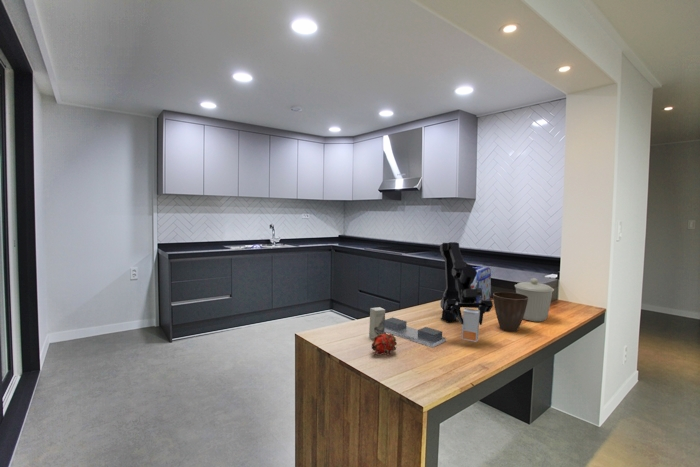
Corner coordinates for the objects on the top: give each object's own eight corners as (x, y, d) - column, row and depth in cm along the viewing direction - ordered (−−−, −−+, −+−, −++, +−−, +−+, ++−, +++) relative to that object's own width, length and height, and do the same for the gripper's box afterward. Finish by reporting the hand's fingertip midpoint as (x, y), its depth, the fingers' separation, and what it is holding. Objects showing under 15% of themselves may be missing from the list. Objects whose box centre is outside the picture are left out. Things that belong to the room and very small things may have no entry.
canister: (543, 326, 171) (546, 283, 170) (506, 317, 185) (508, 277, 184) (557, 319, 183) (560, 279, 182) (521, 311, 197) (523, 273, 196)
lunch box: (479, 308, 201) (481, 269, 200) (461, 305, 207) (463, 267, 206) (492, 299, 224) (493, 264, 222) (475, 296, 230) (476, 262, 228)
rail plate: (393, 325, 168) (394, 316, 168) (445, 341, 149) (446, 330, 149) (380, 330, 161) (380, 320, 161) (432, 347, 142) (433, 336, 142)
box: (374, 341, 147) (374, 310, 147) (368, 337, 151) (369, 307, 150) (384, 339, 150) (385, 309, 149) (379, 336, 154) (380, 306, 153)
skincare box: (461, 339, 145) (462, 310, 144) (463, 336, 148) (464, 307, 147) (477, 342, 142) (478, 312, 141) (478, 339, 145) (480, 310, 145)
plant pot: (484, 326, 170) (486, 293, 169) (505, 322, 177) (506, 290, 176) (512, 336, 157) (514, 300, 156) (533, 331, 164) (535, 297, 163)
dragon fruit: (397, 354, 139) (374, 366, 131) (383, 336, 143) (361, 347, 136) (405, 341, 134) (383, 353, 126) (391, 323, 138) (368, 334, 131)
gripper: (446, 279, 147) (452, 314, 137) (492, 280, 147) (501, 315, 137) (441, 293, 156) (446, 327, 146) (485, 295, 155) (493, 328, 145)
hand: (471, 324), depth 143 cm, fingers closed on skincare box, 7 cm apart
